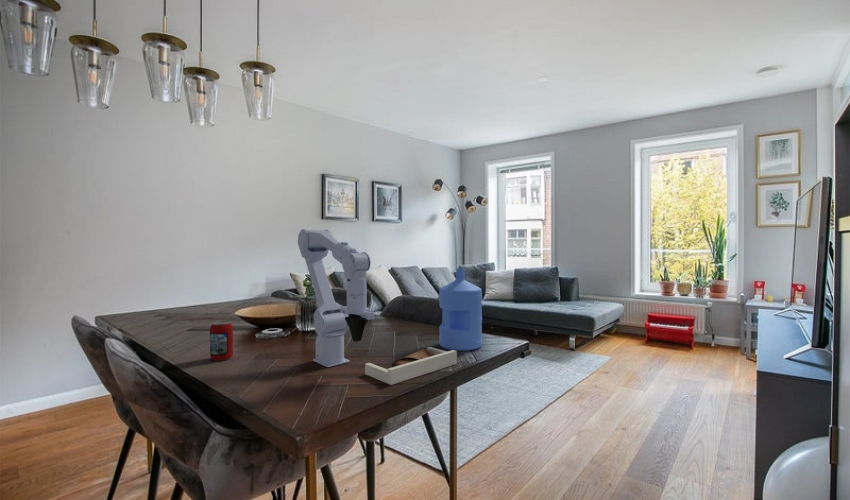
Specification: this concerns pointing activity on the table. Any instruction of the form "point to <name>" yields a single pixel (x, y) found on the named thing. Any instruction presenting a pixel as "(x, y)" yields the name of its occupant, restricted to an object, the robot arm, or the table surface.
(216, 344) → the beverage can
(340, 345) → the robot arm
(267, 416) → the table surface
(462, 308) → the water jug
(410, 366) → the cream tray
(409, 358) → the sunglasses case
